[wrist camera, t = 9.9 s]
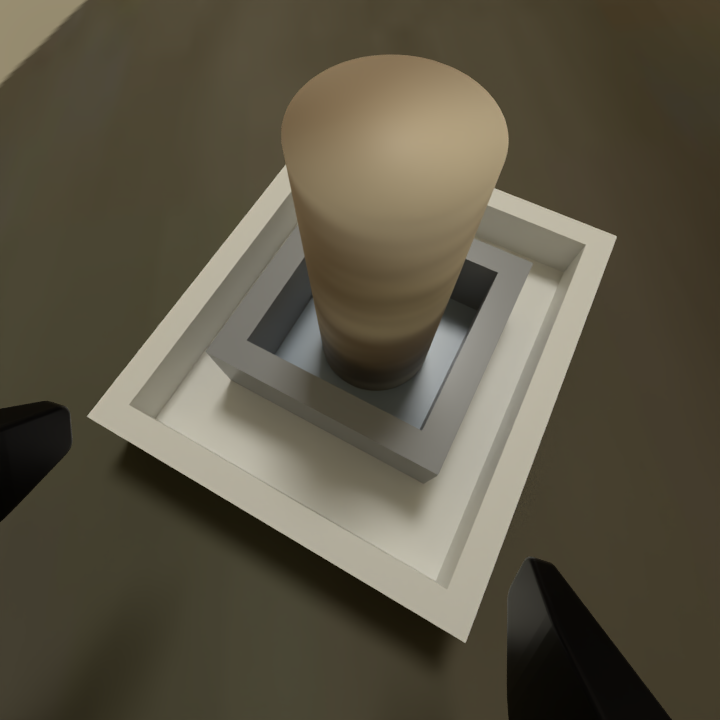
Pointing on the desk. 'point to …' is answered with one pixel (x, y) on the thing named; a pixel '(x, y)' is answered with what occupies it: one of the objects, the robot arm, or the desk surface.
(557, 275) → the housing
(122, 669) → the desk surface
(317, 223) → the beige domed cylinder
